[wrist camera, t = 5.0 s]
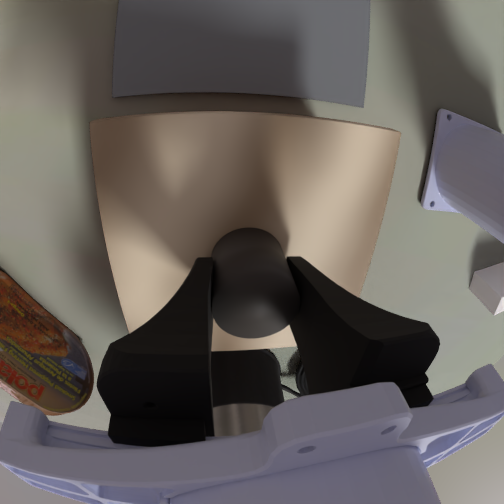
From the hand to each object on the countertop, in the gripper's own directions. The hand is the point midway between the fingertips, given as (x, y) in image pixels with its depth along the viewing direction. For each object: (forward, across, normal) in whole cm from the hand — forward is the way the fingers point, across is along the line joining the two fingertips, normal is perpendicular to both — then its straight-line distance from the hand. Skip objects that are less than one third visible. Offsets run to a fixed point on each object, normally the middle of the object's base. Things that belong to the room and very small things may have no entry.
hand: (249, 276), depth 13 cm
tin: (+8, +18, +9) cm, 22 cm away
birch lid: (+2, 0, 0) cm, 2 cm away
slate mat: (+7, 0, -15) cm, 17 cm away
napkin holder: (+8, -32, +7) cm, 34 cm away
